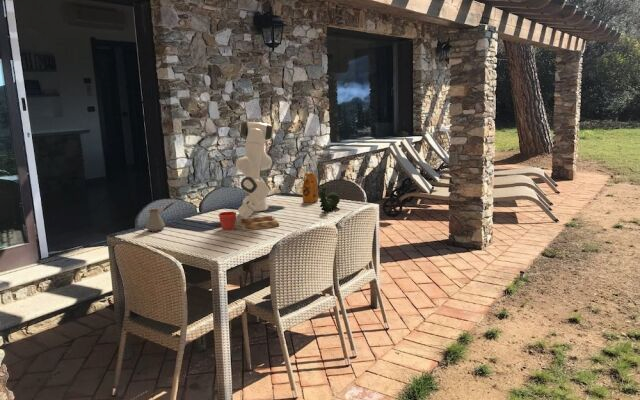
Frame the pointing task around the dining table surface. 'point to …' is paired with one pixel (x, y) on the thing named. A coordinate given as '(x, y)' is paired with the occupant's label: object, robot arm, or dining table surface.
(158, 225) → the coffee pot
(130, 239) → the dining table surface
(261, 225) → the brown wooden u-shaped frame
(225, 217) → the flower pot
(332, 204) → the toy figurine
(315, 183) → the coffee package
